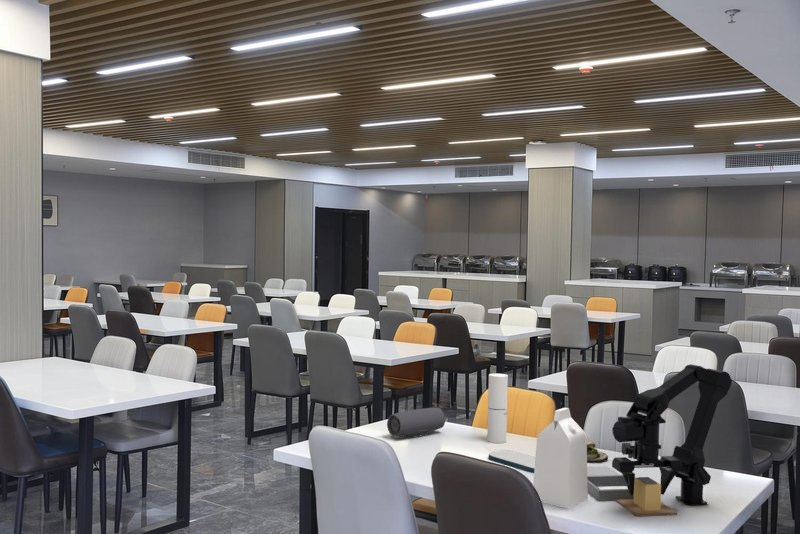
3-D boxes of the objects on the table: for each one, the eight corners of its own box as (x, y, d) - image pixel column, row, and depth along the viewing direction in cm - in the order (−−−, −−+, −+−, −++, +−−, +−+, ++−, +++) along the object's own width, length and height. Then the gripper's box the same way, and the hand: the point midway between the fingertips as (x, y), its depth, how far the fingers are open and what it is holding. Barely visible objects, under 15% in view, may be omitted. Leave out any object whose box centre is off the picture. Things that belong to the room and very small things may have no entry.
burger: (572, 462, 252) (572, 440, 252) (572, 453, 264) (573, 432, 264) (608, 465, 250) (609, 443, 249) (607, 456, 261) (607, 435, 261)
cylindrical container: (483, 439, 280) (485, 374, 280) (499, 438, 283) (501, 373, 283) (493, 444, 274) (495, 377, 273) (510, 442, 277) (511, 376, 276)
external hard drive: (561, 470, 244) (561, 464, 244) (539, 476, 236) (539, 470, 236) (506, 454, 261) (506, 448, 261) (484, 459, 254) (484, 454, 254)
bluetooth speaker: (429, 429, 296) (430, 404, 295) (445, 433, 288) (446, 408, 288) (385, 437, 281) (386, 410, 281) (401, 442, 274) (401, 415, 274)
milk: (551, 489, 221) (553, 403, 221) (587, 498, 214) (589, 409, 214) (532, 499, 212) (534, 409, 212) (568, 508, 205) (571, 415, 204)
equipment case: (650, 499, 214) (650, 489, 214) (598, 501, 212) (598, 490, 212) (608, 470, 242) (608, 461, 242) (561, 471, 240) (562, 462, 240)
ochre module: (660, 510, 203) (661, 483, 203) (645, 510, 203) (645, 483, 203) (648, 501, 210) (649, 475, 210) (633, 502, 210) (634, 476, 210)
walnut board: (677, 514, 202) (677, 512, 202) (636, 516, 200) (636, 514, 200) (655, 500, 213) (655, 498, 213) (616, 501, 212) (616, 499, 212)
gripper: (664, 431, 216) (663, 484, 216) (604, 432, 213) (603, 486, 213) (684, 441, 205) (683, 497, 205) (621, 442, 202) (620, 499, 202)
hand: (646, 494), depth 207 cm, fingers open, 9 cm apart
